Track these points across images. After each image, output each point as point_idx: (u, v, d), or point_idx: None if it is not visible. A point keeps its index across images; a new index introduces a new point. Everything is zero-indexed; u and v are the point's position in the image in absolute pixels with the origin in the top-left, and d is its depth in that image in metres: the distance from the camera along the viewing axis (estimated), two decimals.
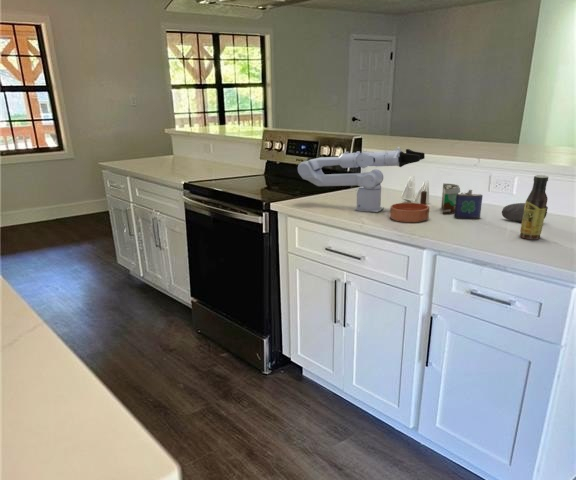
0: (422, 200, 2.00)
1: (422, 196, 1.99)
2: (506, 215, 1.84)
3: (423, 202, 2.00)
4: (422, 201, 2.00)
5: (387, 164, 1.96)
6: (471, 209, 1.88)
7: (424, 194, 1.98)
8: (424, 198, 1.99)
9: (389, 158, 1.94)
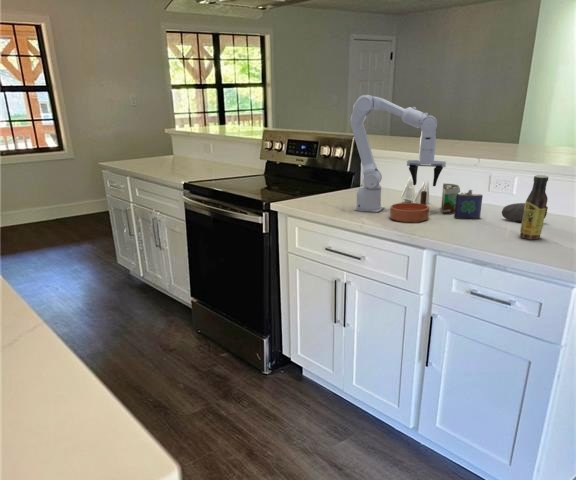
0: (422, 200, 2.00)
1: (422, 196, 1.99)
2: (506, 215, 1.84)
3: (423, 202, 2.00)
4: (422, 201, 2.00)
5: (430, 152, 1.91)
6: (471, 209, 1.88)
7: (424, 194, 1.98)
8: (424, 198, 1.99)
9: (434, 154, 1.92)
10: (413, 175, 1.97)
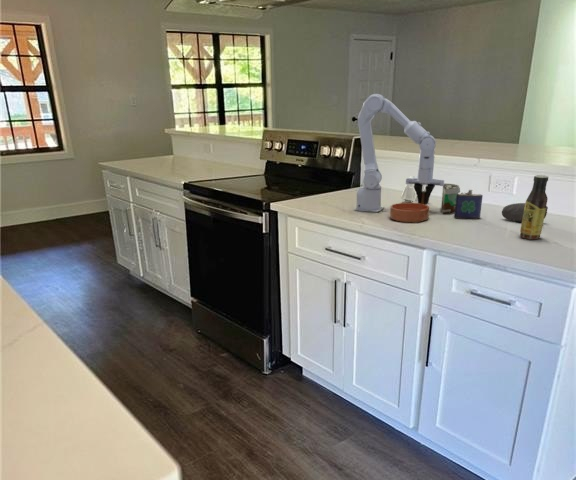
0: (422, 200, 2.00)
1: (422, 196, 1.99)
2: (506, 215, 1.84)
3: (423, 202, 2.00)
4: (422, 201, 2.00)
5: (429, 171, 1.93)
6: (471, 209, 1.88)
7: (424, 194, 1.98)
8: (424, 198, 1.99)
9: (432, 173, 1.95)
10: (418, 193, 1.99)
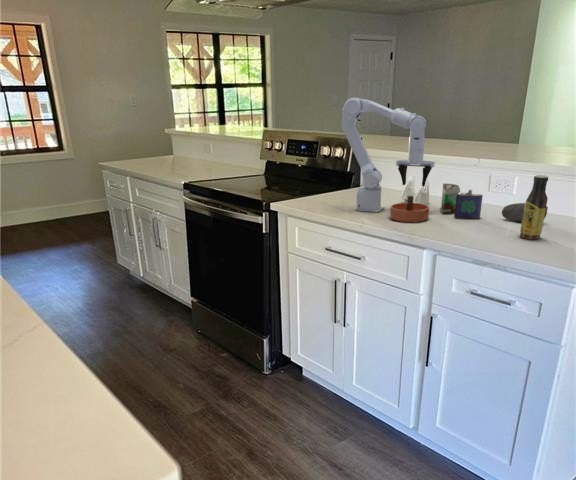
0: (409, 205, 1.90)
1: (408, 201, 1.89)
2: (506, 215, 1.84)
3: (409, 207, 1.90)
4: (408, 206, 1.90)
5: (419, 152, 1.92)
6: (471, 209, 1.88)
7: (410, 198, 1.89)
8: (411, 203, 1.89)
9: None
10: (402, 175, 1.98)
